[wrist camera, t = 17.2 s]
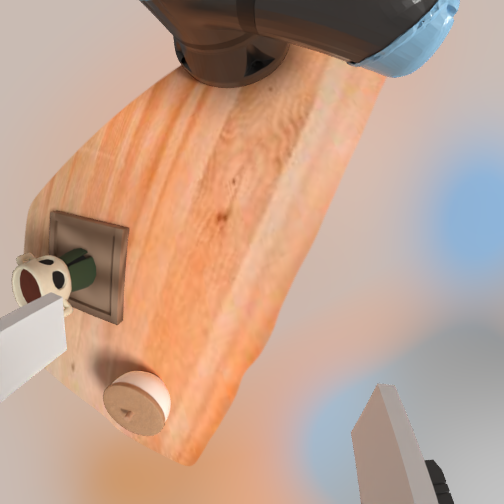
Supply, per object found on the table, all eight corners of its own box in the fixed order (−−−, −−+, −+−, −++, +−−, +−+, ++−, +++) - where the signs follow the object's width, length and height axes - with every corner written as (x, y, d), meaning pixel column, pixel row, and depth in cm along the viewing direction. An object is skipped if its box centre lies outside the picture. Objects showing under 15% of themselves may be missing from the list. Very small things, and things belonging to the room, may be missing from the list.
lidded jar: (113, 371, 47) (86, 399, 38) (152, 351, 45) (124, 383, 36) (150, 414, 48) (129, 446, 39) (191, 399, 46) (173, 436, 37)
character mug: (116, 277, 41) (60, 309, 29) (95, 305, 43) (43, 339, 31) (73, 226, 41) (13, 241, 28) (56, 256, 43) (-1, 277, 30)
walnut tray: (57, 210, 42) (50, 211, 40) (129, 228, 41) (122, 229, 39) (56, 293, 45) (50, 296, 44) (122, 320, 44) (117, 325, 42)
